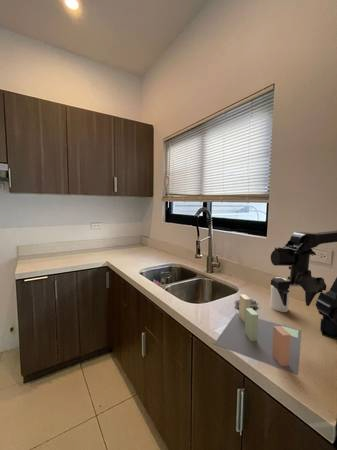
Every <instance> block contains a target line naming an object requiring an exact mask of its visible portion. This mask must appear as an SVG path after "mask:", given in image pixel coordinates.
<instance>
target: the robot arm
mask: <svg viewBox="0 0 337 450" xmlns="http://www.w3.org/2000/svg"><path fill="white" fill-rule="evenodd" d="M330 243H337V230H330V231H322V232H303V231H295V232H293V233H292V234H291V236H290V238H289V239H288V240H287V242H286V243H285V244H284V246H283V247H279V246H275V247H274V250H273V251H272V252H271V254H270V262H271V264H272V265H273V266H277V267H278V266H281V267H282V266H283V267H287V266H288V270H290V273H289V276H287V279H286V280H287V281H286V280H284V279H285V278H284V279H282V278H283V277H280V278H276V277H273V278H271V280H270V286H271V285H272V286H274V287H275V288H276V289H277V290H278V292H279V295H280V297H281V300H282V303H283V305H284V306H286V303H287V294H288V293H289V294H290V287H301V288H302V289H303V291H304V293H305V297H304V299H305V306H307V307H309V306H310V305H311V303H312V301H313V299H314V298H315V297H316V295H317V294H319V295H318V297H317V299H315V301H316V302H315V306H316V307H315V308H316V309H317V312H318V315H321V316H322V318H320V322H319V323H320V325H319V328H320V329H319V330H320V331H321V334H322V335H323V336H326V337H329V338H333V339H337V277H336V278H335V280H334V281H333V282H332V285H331V287H330V289H329V290H328V291H327V284H326V282H325V279H324V278H323V277H315V276H314V277H313V276H312V270H310V269H309V266H310V257H311V256H315V255H316V252H315V251H314V250H313V249H314V248H317V247H318V246H319V245H322V244H330ZM288 289H289V290H288ZM323 291H327V292H325V293H324V292H323Z"/></svg>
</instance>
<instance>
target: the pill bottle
mask: <svg viewBox="0 0 337 450" xmlns="http://www.w3.org/2000/svg"><path fill="white" fill-rule="evenodd" d="M275 278H282V279H284V280H286V281H288V279H286V278H284V277H279V276H277V277H275ZM288 290H289V291H290V288H289V289H288ZM289 303H290V292H289V293H288V294H287V303H286V306H284V305H283V303H282V300H281V297H280V295H279V292H278V290H277V289H276V288H275V287H274V286H272V285H271V284H270V304H269V305H270V308H271V310H272V309H273V310H274V311H278V312H280V313H287V312H288V311H289Z"/></svg>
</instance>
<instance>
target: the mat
mask: <svg viewBox="0 0 337 450" xmlns="http://www.w3.org/2000/svg"><path fill="white" fill-rule="evenodd" d="M274 326H281V327H282V328H284V329H285V330H286V331H287V332H288V333H289V334H290V335H291V340H290V356H289V366H281V365H280V364H279V363H278V362H277V360H276V359H275V358H274V357H273V356H272V348H273V329H274ZM301 342H302V329H298V328H295V327H290V326H286V325H285V324H284V325H283V324H280V323H275V322H272V321H268V320H264V319H261V318H258V333H257V341H250V339H249V338H248V337H247V336H246V334H245V322H243V320H242V319H241V318H240V317H239V312H235V314H234V315H233V316H232V318H231V320H230V321H229V322H228V323H227V325H226V326H225V328H224V329H223V331H222V332H221V333H220V334H219V336H218V337H217V339H216V340H215V342H214V343H213V345H215V346H218V347H221V348H223V349H226V350H229V351H231V352H234V353H237V354H239V355H242V356H244V357H248V358H251V359H253V360H256V361H259V362H262V363H265V364H266V365H270V366H272V367H275V368H277V369H281V370H284V371H286V372H288V373H291V374H294V375H299V369H300V368H299V366H300V365H299V364H300V363H299V362H300V354H301V353H300V351H301Z"/></svg>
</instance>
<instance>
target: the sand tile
mask: <svg viewBox="0 0 337 450" xmlns="http://www.w3.org/2000/svg"><path fill="white" fill-rule="evenodd" d="M250 299H251V298H250V297H249V296H248V295H246V294H243V293H242V294H239V300H240V301H239V308H238V313H239V317H240V318H241V319H242V320H243V322H245V311H246V308H250Z"/></svg>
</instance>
